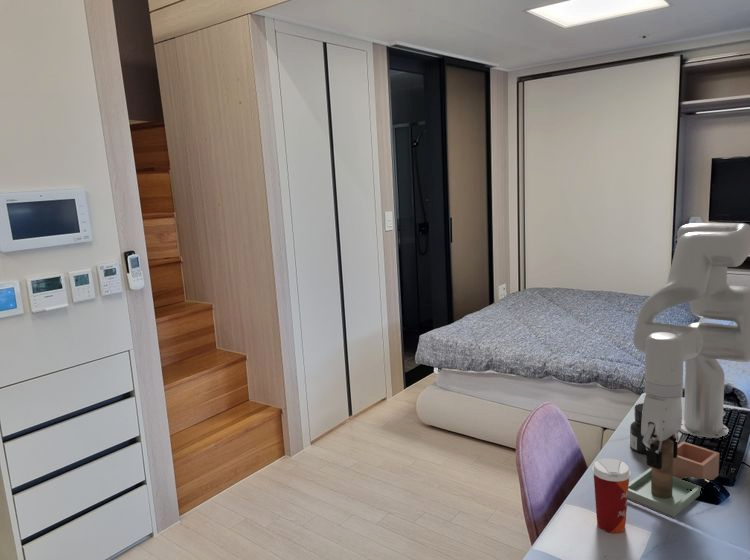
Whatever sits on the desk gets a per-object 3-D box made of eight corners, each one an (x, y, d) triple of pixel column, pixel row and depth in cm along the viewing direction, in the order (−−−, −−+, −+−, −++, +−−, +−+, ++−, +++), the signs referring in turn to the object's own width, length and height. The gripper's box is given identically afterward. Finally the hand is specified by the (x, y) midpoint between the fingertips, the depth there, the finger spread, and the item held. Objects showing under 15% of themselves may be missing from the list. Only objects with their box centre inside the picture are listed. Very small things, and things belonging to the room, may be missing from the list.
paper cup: (634, 537, 119) (634, 476, 116) (595, 535, 120) (595, 474, 118) (625, 515, 126) (626, 457, 124) (589, 513, 128) (589, 456, 125)
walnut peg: (656, 485, 135) (657, 435, 133) (675, 493, 132) (677, 441, 129) (647, 493, 132) (648, 441, 130) (666, 500, 129) (667, 448, 126)
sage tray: (650, 476, 141) (650, 467, 140) (701, 496, 131) (701, 486, 131) (621, 497, 133) (621, 487, 133) (674, 519, 124) (674, 509, 123)
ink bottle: (636, 438, 160) (637, 398, 158) (670, 447, 154) (671, 405, 152) (624, 452, 153) (625, 411, 151) (660, 462, 147) (661, 418, 145)
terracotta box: (681, 464, 145) (682, 441, 144) (718, 477, 138) (719, 452, 137) (665, 477, 140) (665, 453, 139) (702, 491, 133) (703, 465, 132)
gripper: (665, 373, 135) (664, 443, 139) (627, 394, 125) (626, 469, 128) (698, 381, 129) (696, 453, 133) (661, 403, 119) (659, 481, 122)
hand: (662, 460), depth 130 cm, fingers open, 6 cm apart
